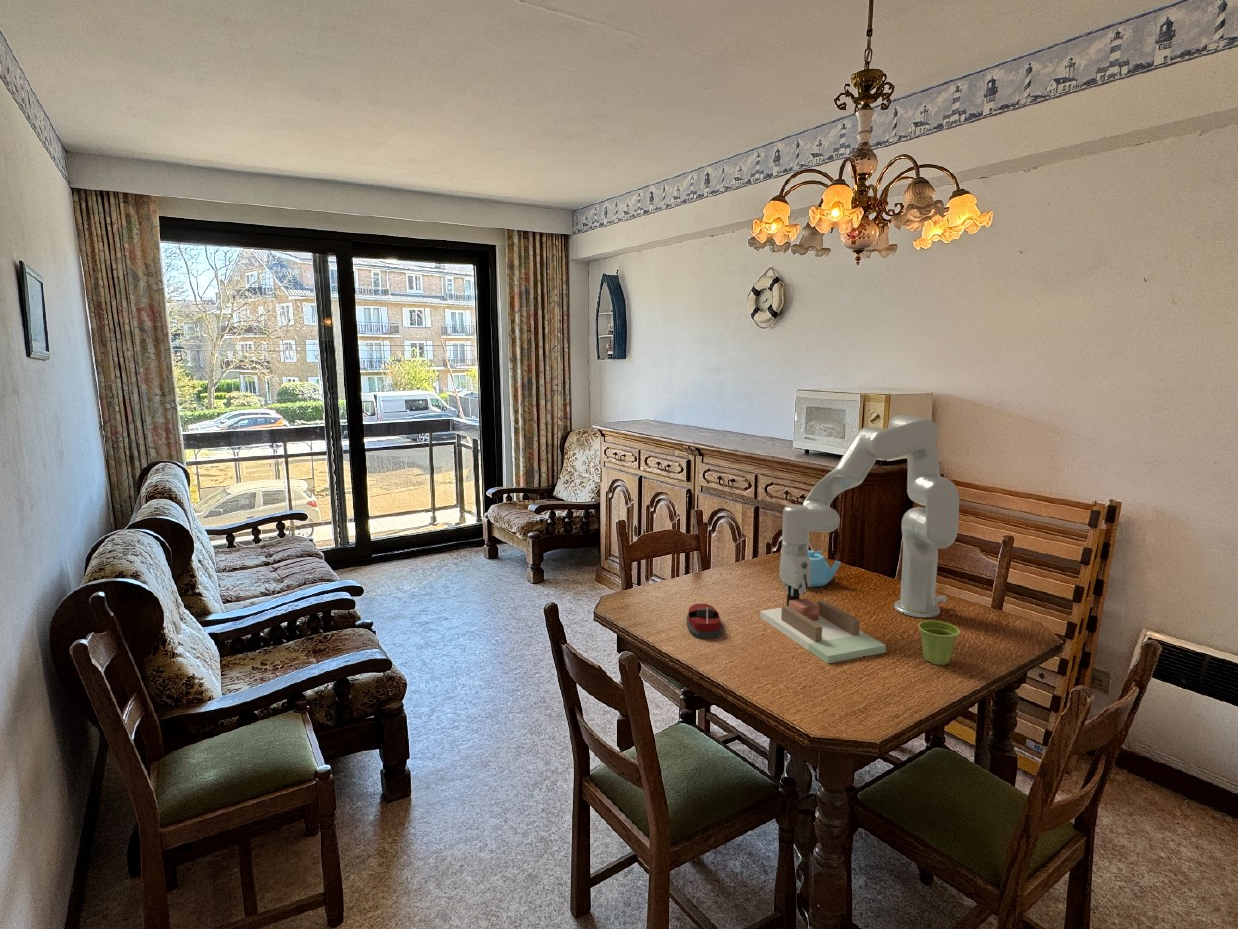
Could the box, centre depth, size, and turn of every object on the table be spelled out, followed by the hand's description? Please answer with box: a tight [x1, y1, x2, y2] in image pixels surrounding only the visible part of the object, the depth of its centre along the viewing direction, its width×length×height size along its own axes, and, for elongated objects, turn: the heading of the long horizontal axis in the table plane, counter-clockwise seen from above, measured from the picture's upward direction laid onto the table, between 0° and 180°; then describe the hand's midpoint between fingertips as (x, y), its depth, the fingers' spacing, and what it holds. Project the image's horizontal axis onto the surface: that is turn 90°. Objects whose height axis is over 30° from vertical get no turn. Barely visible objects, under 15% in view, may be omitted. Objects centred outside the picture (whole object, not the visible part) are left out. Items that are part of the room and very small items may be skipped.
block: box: [789, 597, 819, 621], centre depth 190 cm, size 6×6×4 cm
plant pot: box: [917, 620, 961, 666], centre depth 167 cm, size 9×9×9 cm
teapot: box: [808, 549, 842, 588], centre depth 226 cm, size 15×15×11 cm
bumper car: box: [686, 603, 723, 639], centre depth 188 cm, size 10×20×10 cm, turn 0°
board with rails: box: [759, 600, 887, 664], centre depth 183 cm, size 18×32×6 cm, turn 19°
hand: (792, 607), depth 195 cm, fingers closed
